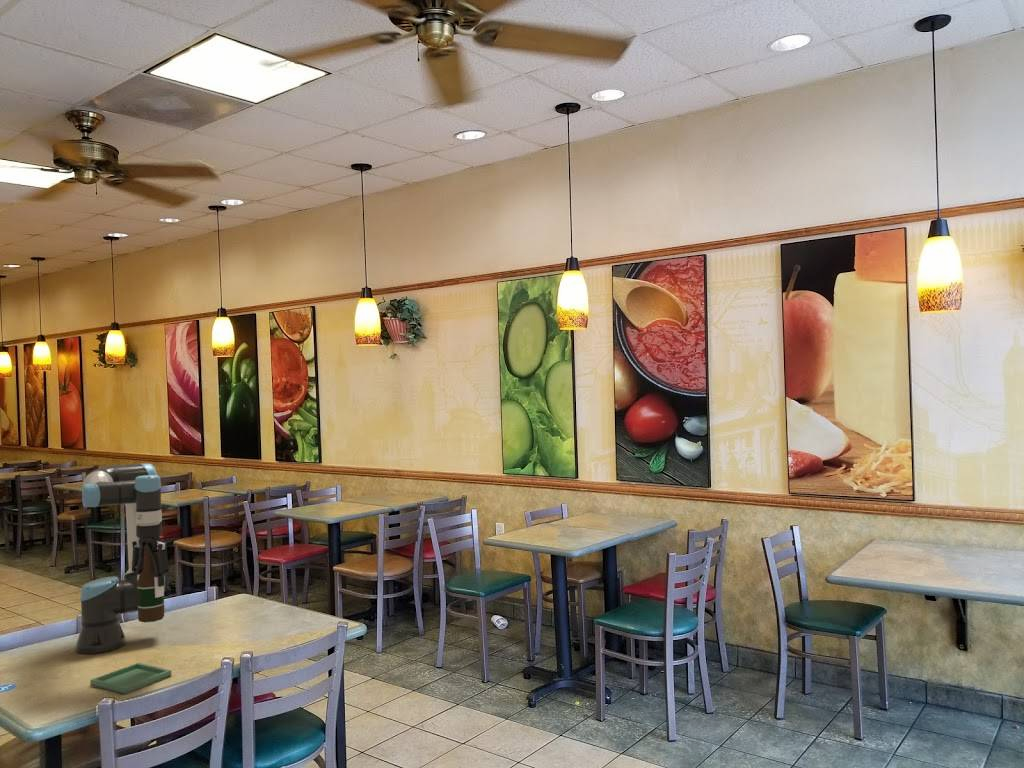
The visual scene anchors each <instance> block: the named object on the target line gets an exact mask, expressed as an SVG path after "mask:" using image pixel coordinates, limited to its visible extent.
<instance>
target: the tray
mask: <svg viewBox="0 0 1024 768" xmlns="http://www.w3.org/2000/svg"><path fill="white" fill-rule="evenodd" d="M171 677H172V670H171V669H167V668H164V667H163V668H162V667H158V666H155V665H150V664H146V663H141V662H136V663H134V664H131V665H127V666H125V667H123V668H119V669H117V670H113V671H111V672H109V673H106V674H102V675H100V676H98V677H94V678H92V679H90V687H93V688H94V687H95V688H97V689H102V690H105V691H110V692H112V693H117V694H119V695H127V694H129V693H133V692H135V691H137V690H140V689H142V688H145V687H147V686H150V685H152V684H155V683H157V682H160V681H162V680H165V679H168V678H171Z"/></svg>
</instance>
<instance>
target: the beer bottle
mask: <svg viewBox="0 0 1024 768" xmlns="http://www.w3.org/2000/svg"><path fill="white" fill-rule="evenodd" d="M143 549H144V566H143V571H142V573H141V574H140V576H139V579H138V584H137V593H138V611H137V616H138V617H137V618H138V622H141V623H153V622H157V621H161V620H163V618H164V617H165V595H164V596H161V597H157V598H155V576H156V572H155V569H154V565H153V562H152V558H151V557H150V556H149V553H148V550H147V548H146V545H144V547H143Z"/></svg>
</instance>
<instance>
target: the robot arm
mask: <svg viewBox="0 0 1024 768" xmlns="http://www.w3.org/2000/svg"><path fill="white" fill-rule="evenodd" d="M157 473H158V472H157V470H156V468H155V466H154V465H153V464H152V463H135V464H134V463H133V464H119V465H118V464H117V465H106V466H103V467H102V466H101V467H100V468H97V469H94V470H92V471H91V472H89V473H88V474H86V476H85V478H84V479H83V482H82V486H81V487H82V488H81V494H82V495H81V497H82V498H81V499H82V506H83V507H84V508H96V507H105V506H115V505H124V506H125V518H126V519H125V520H126V538H127V561H128V570H127V571H126V573H125V574H123V575H124V579H119V577H118V576H115V575H113V576H105V577H100V578H97V579H94V580H91V581H88V582H86V583H85V584H84V585H83V586H82V587H81V589H80V599H79V601H80V607H81V609H80V615H81V616H80V618H81V619H80V621H81V627H80V631H79V635H78V637H77V641H76V644H75V648H76V649H75V650H76V653H79V654H82V655H84V654H85V655H93V654H95V655H96V654H101V653H106V652H110V651H114V650H116V649H119V648H121V647H123V646H124V645H125V644H126V636H125V633H124V631H123V628H122V625H121V624H120V615H122V614H123V615H124V614H130V613H136V612H137V613H138V593H137V584H138V579H139V576H140V574H141V573H142V571H143V566H144V549H143V547H144V545H146V548H147V550H148V553H149V556H150V557H151V558H152V562H153V565H154V569H155V572H156V576H155V598H157V597H161V596H164V597H165V586H166V583H165V582H166V577H165V576H166V575H168V574H170V568H169V567H170V566H169V559H168V551H167V549H168V543H167V542H161V539H160V536H161V535H162V534H163V525H162V521H163V517H162V516H163V515H162V513H163V512H162V511H163V510H162V483H161V476H160V475H158V474H157Z"/></svg>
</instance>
